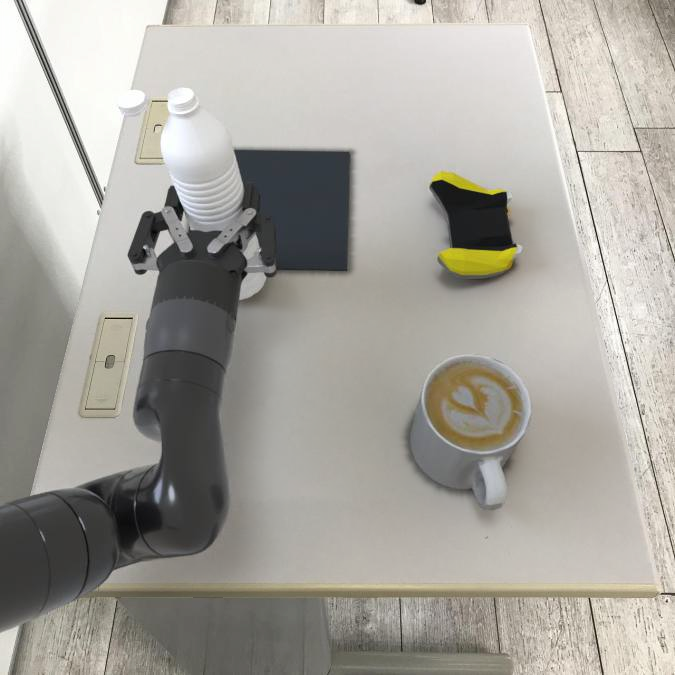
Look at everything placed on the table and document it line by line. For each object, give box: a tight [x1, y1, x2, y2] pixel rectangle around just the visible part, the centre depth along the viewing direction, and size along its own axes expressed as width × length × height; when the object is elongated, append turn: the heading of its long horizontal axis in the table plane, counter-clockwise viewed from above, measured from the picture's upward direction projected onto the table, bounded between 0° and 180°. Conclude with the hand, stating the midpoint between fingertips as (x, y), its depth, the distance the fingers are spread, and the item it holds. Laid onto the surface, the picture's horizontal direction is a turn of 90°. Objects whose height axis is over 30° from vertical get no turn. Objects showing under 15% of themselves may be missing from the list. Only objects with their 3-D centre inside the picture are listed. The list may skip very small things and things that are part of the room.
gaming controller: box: [429, 170, 523, 280], centre depth 77 cm, size 15×6×10 cm
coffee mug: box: [409, 353, 533, 512], centre depth 61 cm, size 13×10×10 cm
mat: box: [187, 149, 350, 272], centre depth 82 cm, size 20×20×1 cm
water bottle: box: [116, 87, 267, 301], centre depth 64 cm, size 9×6×25 cm
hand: (216, 187), depth 65 cm, fingers closed on water bottle, 6 cm apart
